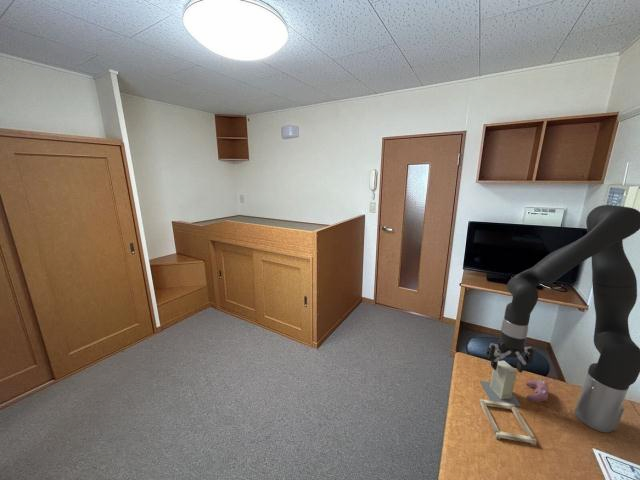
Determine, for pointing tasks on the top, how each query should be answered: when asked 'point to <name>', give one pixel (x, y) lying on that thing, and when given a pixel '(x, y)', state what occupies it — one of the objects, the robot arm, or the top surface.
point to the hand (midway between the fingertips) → (506, 369)
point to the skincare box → (503, 380)
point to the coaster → (494, 397)
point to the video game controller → (538, 390)
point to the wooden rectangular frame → (499, 434)
